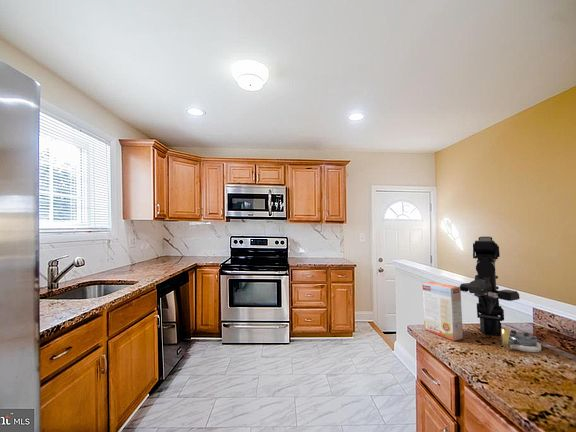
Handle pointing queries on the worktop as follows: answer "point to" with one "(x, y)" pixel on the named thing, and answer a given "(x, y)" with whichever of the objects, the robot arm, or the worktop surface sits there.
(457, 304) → the cracker box
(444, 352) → the worktop surface
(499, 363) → the worktop surface
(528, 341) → the grey piece
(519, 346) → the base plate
